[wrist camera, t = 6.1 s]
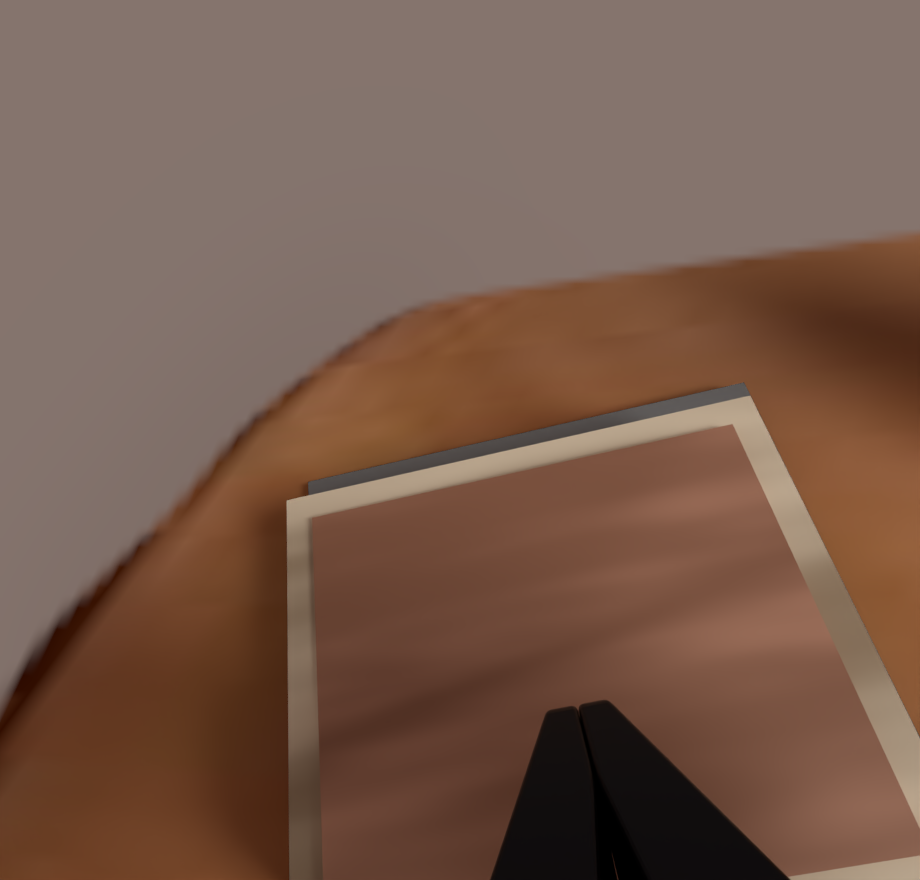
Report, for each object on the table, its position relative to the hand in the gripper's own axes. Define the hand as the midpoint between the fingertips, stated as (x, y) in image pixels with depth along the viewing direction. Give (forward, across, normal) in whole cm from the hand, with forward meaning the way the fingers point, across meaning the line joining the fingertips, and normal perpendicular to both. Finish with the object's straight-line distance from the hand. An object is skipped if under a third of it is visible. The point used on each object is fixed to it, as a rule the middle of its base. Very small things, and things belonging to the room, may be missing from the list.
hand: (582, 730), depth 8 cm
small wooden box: (+2, 0, +6) cm, 7 cm away
